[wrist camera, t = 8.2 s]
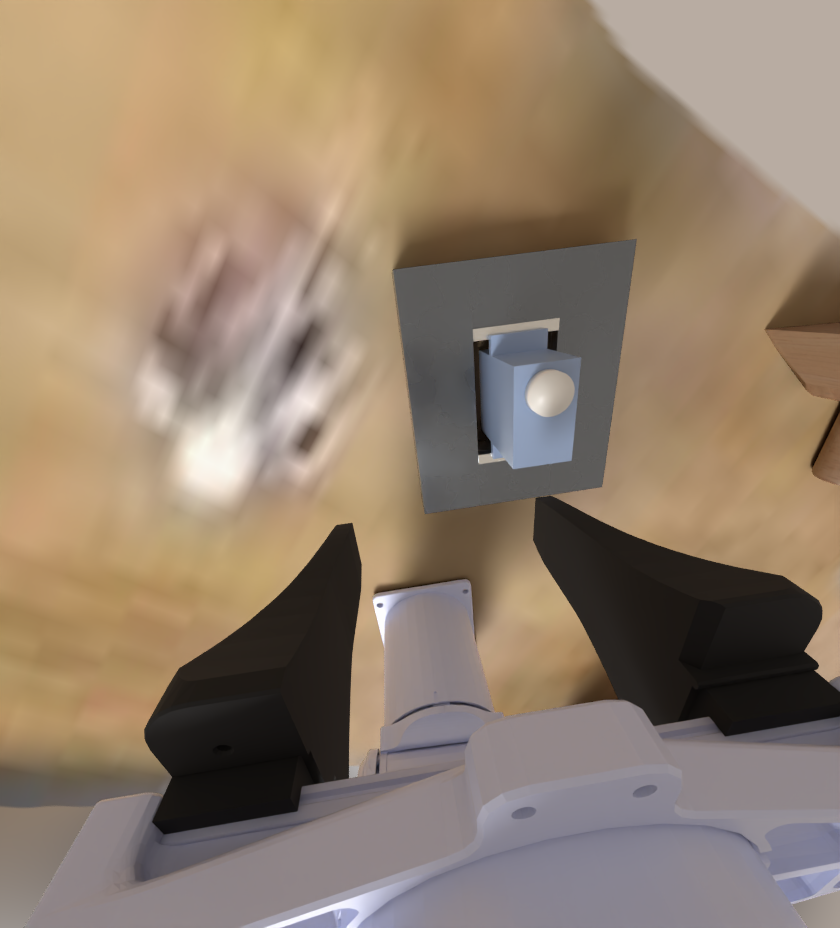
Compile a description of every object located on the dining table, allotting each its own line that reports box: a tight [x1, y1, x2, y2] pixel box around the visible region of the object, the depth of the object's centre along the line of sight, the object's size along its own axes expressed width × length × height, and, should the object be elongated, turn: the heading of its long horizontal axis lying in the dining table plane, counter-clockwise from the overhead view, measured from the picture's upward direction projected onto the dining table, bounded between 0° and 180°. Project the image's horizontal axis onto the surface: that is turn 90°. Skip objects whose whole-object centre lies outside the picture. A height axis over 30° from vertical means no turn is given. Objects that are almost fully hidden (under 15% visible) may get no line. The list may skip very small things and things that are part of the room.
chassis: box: [392, 239, 637, 514], centre depth 20 cm, size 14×12×2 cm
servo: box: [479, 328, 581, 469], centre depth 18 cm, size 7×3×7 cm, turn 6°
